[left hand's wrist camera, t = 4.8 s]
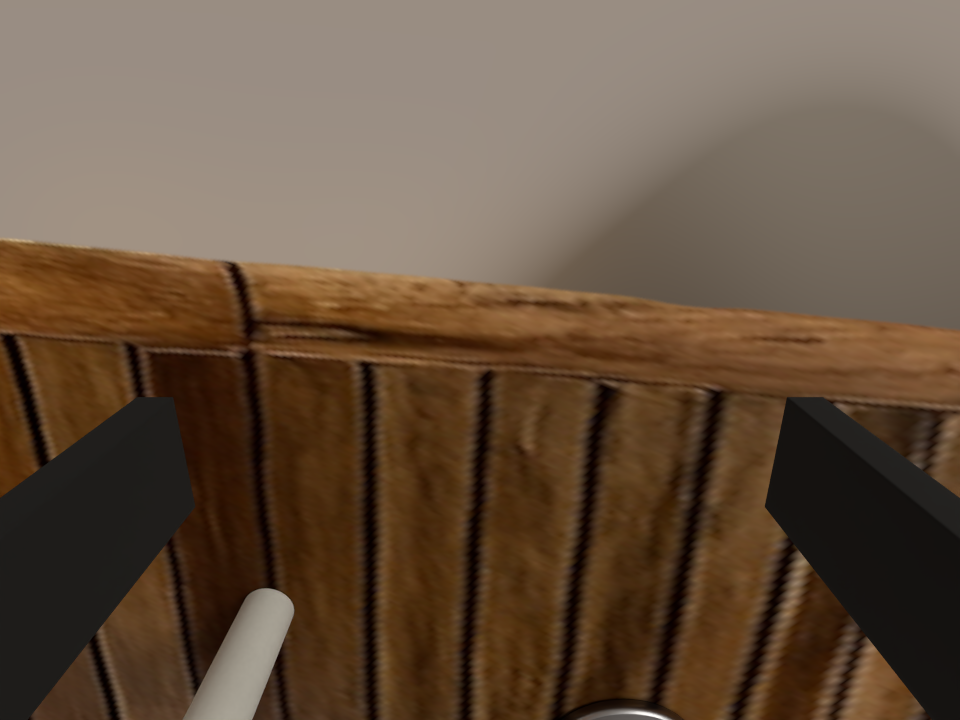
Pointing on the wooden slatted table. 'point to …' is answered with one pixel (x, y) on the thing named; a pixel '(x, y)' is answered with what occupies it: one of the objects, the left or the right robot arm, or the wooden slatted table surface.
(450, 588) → the wooden slatted table surface
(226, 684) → the white cylindrical bottle
